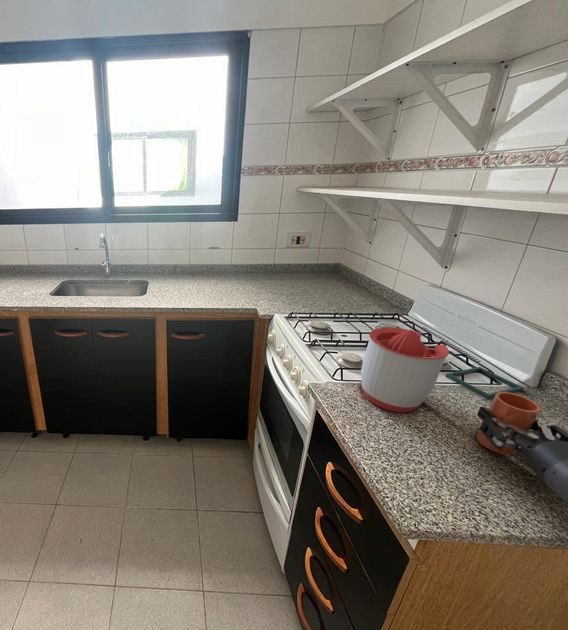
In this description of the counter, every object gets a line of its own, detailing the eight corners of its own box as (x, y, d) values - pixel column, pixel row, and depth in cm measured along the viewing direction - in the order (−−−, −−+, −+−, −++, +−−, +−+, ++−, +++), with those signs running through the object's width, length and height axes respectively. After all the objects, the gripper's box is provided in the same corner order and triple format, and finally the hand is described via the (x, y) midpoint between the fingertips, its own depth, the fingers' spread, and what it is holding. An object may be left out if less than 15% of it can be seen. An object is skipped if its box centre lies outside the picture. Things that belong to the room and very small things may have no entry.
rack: (476, 374, 99) (479, 366, 98) (520, 395, 90) (524, 387, 89) (443, 381, 96) (446, 373, 95) (485, 403, 87) (489, 395, 86)
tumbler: (490, 430, 77) (510, 389, 72) (524, 451, 71) (548, 408, 67) (468, 436, 75) (487, 394, 71) (502, 457, 70) (525, 414, 65)
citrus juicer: (448, 413, 84) (479, 340, 76) (387, 423, 81) (413, 349, 73) (394, 377, 98) (415, 313, 90) (340, 385, 95) (357, 319, 87)
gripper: (638, 465, 55) (547, 400, 70) (533, 454, 57) (467, 394, 72) (614, 498, 58) (531, 429, 73) (515, 486, 60) (454, 422, 75)
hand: (499, 411), depth 73 cm, fingers closed on tumbler, 6 cm apart
